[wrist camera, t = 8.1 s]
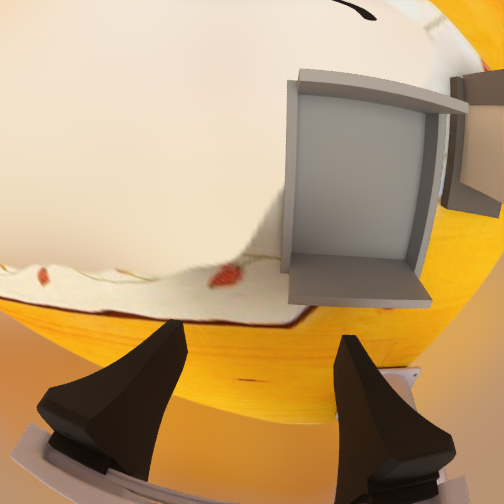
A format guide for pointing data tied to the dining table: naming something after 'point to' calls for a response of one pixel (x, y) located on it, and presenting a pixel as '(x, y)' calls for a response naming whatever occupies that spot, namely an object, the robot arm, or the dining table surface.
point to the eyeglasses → (359, 10)
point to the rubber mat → (455, 191)
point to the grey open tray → (361, 188)
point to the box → (484, 133)
